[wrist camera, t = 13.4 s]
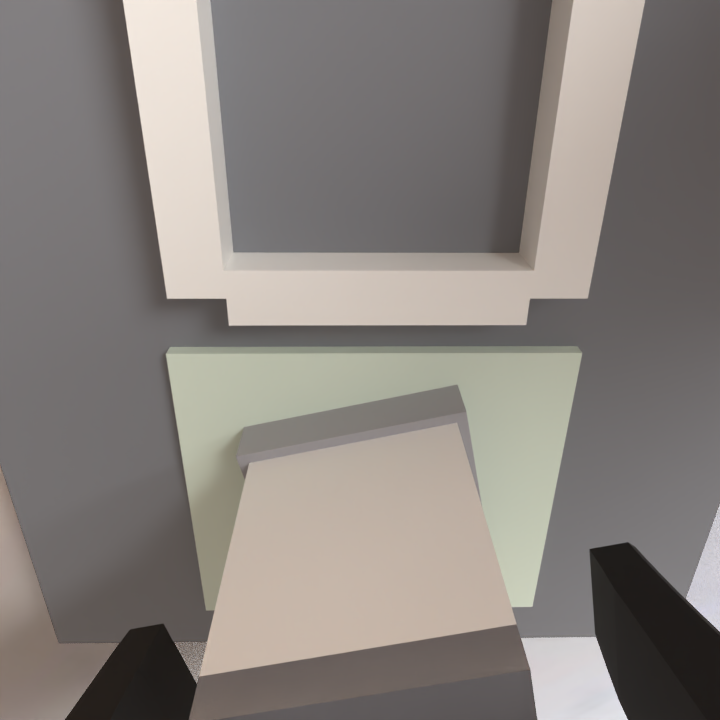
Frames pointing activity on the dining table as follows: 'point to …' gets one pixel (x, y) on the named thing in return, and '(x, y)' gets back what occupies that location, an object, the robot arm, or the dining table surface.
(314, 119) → the fixture base plate
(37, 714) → the dining table surface
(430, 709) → the plug
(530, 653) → the dining table surface
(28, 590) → the dining table surface
